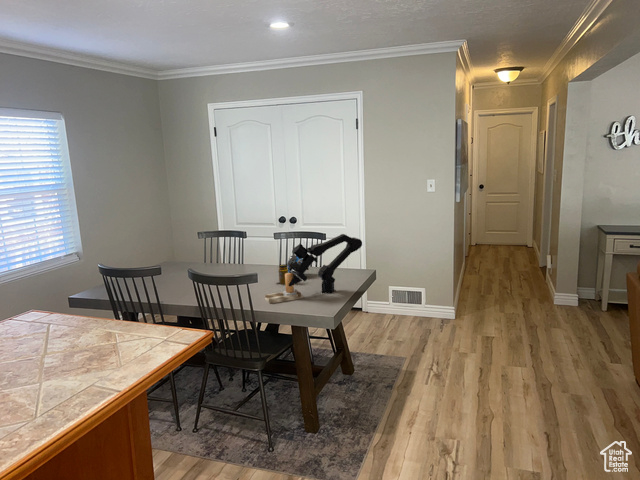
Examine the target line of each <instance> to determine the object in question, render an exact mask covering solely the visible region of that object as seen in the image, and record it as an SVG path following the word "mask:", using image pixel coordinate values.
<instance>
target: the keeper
mask: <svg viewBox="0 0 640 480" xmlns="http://www.w3.org/2000/svg"><path fill="white" fill-rule="evenodd" d="M292 279H293V273H289V272H288V273H286V274H285V284H286V285H285V290H284V291H282V292H283V293H284V295H285V296H289V295H295V294H297V292H296V291H294V290H295V287H294V286H295V284H294V285H292V286H288V285H289V283H290V282H291V280H292Z"/></svg>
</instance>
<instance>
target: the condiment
mask: <svg viewBox="0 0 640 480" xmlns="http://www.w3.org/2000/svg"><path fill="white" fill-rule="evenodd" d="M286 273H289V272H288V265H287V264H285V263H284V264H283V263H282V264H280V265H278V281H277V282H274V284H275V285H276V286H279V287H281V286H286V284H285V274H286Z"/></svg>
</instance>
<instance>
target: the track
mask: <svg viewBox="0 0 640 480" xmlns="http://www.w3.org/2000/svg"><path fill="white" fill-rule="evenodd" d="M294 291H296V292H297V294H295V295H289V296H285V295H284V293H283V291H282V292H281V291H280V292H276V293H270V294H269V293H268V294H264V299H265V301H266V302H267V303H268V304H275V303H281V302H287V301H288V302H289V301H295V300H300V299H303V298H304V296H303V295H302V293H301V291H299V290H297V289H294Z"/></svg>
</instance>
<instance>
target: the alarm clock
mask: <svg viewBox="0 0 640 480" xmlns="http://www.w3.org/2000/svg"><path fill="white" fill-rule="evenodd" d="M302 259H303V258H301V259H299V258H298V257H297V256H296V255H295V254H293V255H290V256H289V258H288V261H289V260H290V261H296V262H297V263H298V261H302ZM288 267H289V266H288V265H287V269H288ZM289 271H290V270H289V269H288V273H289Z"/></svg>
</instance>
